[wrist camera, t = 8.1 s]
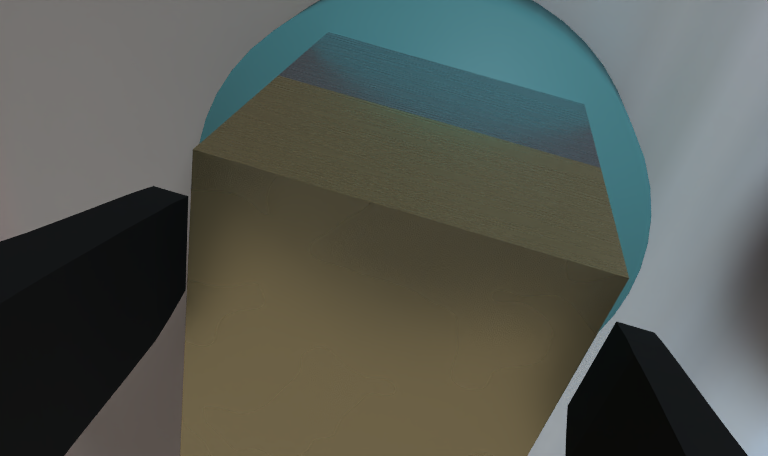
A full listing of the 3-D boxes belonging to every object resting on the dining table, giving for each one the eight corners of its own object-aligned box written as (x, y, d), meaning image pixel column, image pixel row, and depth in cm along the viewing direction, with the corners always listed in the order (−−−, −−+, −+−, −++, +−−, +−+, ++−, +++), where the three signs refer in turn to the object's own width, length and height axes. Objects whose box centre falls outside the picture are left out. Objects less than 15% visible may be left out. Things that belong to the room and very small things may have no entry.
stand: (697, 262, 13) (723, 320, 12) (369, 372, 17) (352, 428, 15) (512, -135, 10) (511, -135, 8) (161, 109, 14) (111, 143, 12)
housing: (464, 382, 14) (439, 608, 10) (280, 325, 14) (177, 522, 10) (584, 103, 10) (628, 278, 6) (328, 31, 10) (192, 149, 6)
